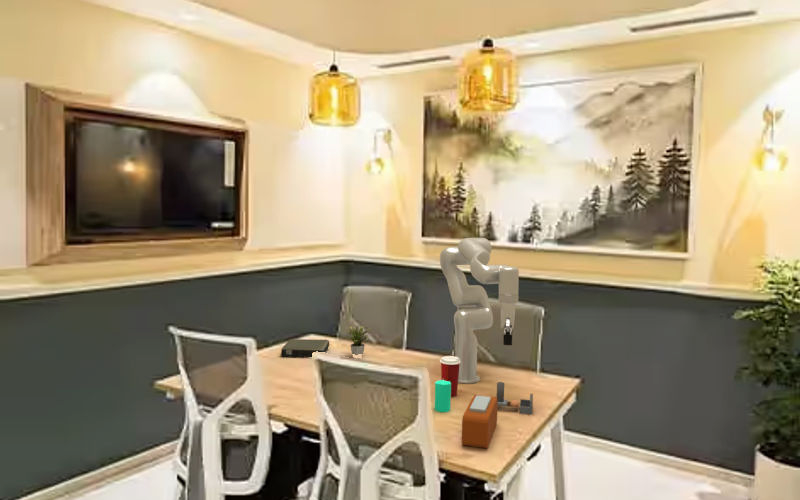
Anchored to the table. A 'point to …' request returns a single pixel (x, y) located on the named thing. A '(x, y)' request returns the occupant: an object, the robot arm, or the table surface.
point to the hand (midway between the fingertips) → (507, 342)
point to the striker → (501, 394)
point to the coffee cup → (450, 372)
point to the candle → (442, 396)
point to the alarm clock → (479, 421)
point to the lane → (507, 408)
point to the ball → (514, 403)
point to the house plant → (357, 340)
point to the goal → (526, 405)
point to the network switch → (303, 347)
